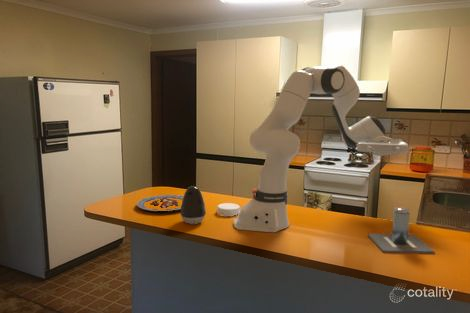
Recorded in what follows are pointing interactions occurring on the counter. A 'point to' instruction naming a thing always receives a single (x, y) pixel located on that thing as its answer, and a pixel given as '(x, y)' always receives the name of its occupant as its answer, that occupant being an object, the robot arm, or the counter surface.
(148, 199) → the ceramic plate
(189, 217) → the black rounded cylinder
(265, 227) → the robot arm
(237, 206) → the coaster
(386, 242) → the letter board
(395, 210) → the canister
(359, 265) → the counter surface
